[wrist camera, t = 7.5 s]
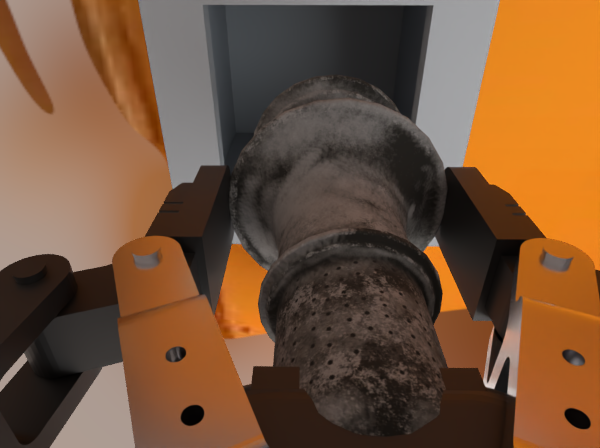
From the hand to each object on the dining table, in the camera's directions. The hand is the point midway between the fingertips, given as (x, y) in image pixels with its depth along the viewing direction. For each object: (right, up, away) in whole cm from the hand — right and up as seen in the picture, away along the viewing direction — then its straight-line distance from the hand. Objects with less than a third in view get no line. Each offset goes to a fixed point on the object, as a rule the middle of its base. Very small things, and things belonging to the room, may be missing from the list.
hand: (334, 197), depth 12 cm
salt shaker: (0, +2, +3) cm, 3 cm away
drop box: (0, +12, +19) cm, 22 cm away
